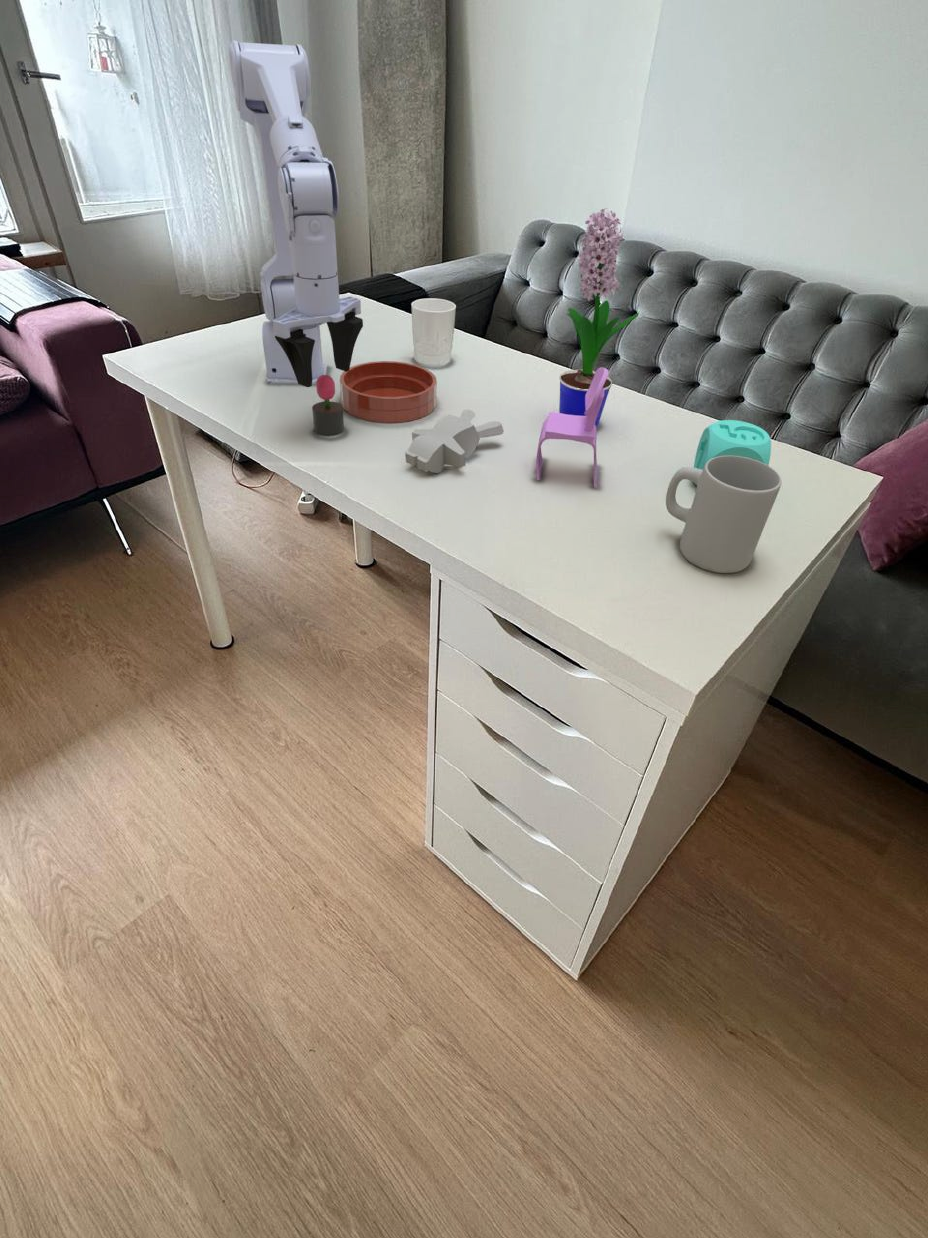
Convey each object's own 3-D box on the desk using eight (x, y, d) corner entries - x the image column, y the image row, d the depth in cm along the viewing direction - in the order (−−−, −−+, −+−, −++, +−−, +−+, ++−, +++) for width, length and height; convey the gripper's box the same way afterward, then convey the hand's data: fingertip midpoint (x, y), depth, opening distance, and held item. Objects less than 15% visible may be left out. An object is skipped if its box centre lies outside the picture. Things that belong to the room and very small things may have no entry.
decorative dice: (690, 468, 99) (706, 416, 93) (746, 475, 98) (765, 423, 93) (695, 495, 93) (712, 441, 87) (755, 503, 92) (775, 449, 87)
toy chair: (537, 456, 99) (551, 353, 89) (597, 463, 98) (618, 360, 88) (532, 483, 93) (547, 376, 83) (596, 492, 92) (618, 384, 82)
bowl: (339, 425, 103) (337, 397, 100) (344, 386, 114) (342, 359, 111) (438, 427, 104) (439, 399, 102) (433, 388, 116) (434, 361, 113)
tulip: (313, 439, 99) (307, 381, 93) (315, 426, 103) (310, 369, 97) (343, 439, 100) (339, 381, 94) (345, 426, 103) (341, 369, 97)
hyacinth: (613, 440, 104) (661, 219, 84) (548, 431, 105) (579, 211, 86) (615, 417, 111) (659, 207, 91) (553, 409, 112) (584, 199, 92)
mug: (760, 551, 83) (793, 471, 76) (734, 583, 78) (767, 500, 70) (670, 515, 88) (693, 438, 81) (641, 543, 83) (663, 462, 76)
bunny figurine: (389, 435, 93) (461, 393, 100) (393, 467, 96) (462, 424, 104) (440, 459, 88) (511, 413, 96) (442, 491, 92) (510, 445, 99)
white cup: (452, 370, 122) (455, 313, 116) (409, 368, 122) (409, 310, 116) (454, 355, 128) (456, 299, 122) (413, 352, 128) (413, 296, 122)
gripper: (296, 291, 81) (307, 400, 90) (376, 269, 90) (379, 369, 99) (255, 279, 83) (270, 385, 92) (337, 258, 93) (343, 357, 102)
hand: (324, 376), depth 96 cm, fingers open, 7 cm apart
